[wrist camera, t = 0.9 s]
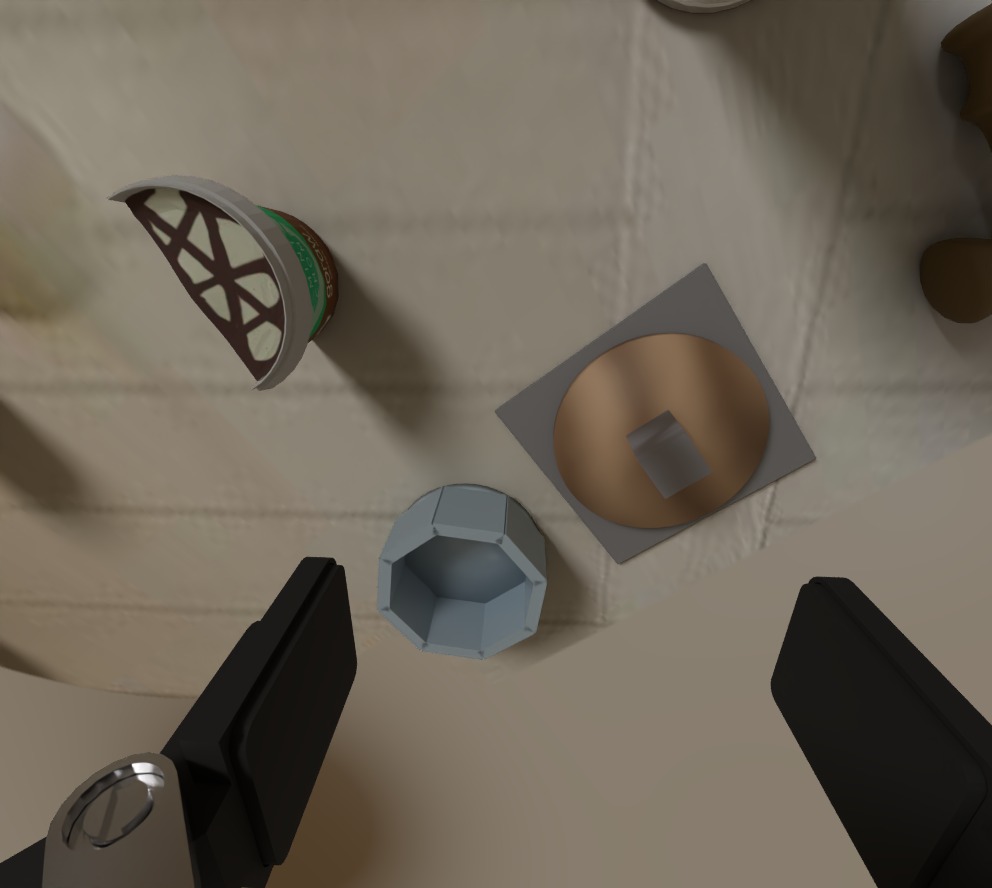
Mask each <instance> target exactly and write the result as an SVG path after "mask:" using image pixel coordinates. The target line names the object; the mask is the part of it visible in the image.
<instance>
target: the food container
mask: <svg viewBox="0 0 992 888" xmlns="http://www.w3.org/2000/svg"><path fill="white" fill-rule="evenodd" d="M107 199H108V200H114V201H119V202H125V203H126V204H127V205H128V207H129V208H130V209H131V211H132V213H133V214H134V216H135V217H136V218H137V219H138V220H139V221H140V222H141V224H142V225H143V226H144V227H145V229H146V230H147V231H148V233H149V234H150V235H151V237H152V238H153V240H154V241H155V242H156V244H157V245H158V247H159V248H160V249H161V251H162V252H163V254H164V255H165V257H166V258H167V260H168V261H169V263H170V265H171V266H172V268H173V270H174V271H175V273H176V275H177V276H178V278H179V280H180V281H181V283H182V284H183V286H184V287H185V289H186V290H187V292H188V294H189V295H190V297H191V298H192V299H193V301H194V302H195V303H196V304H197V305H198V307H199V308H200V309H201V310H202V311H203V313H204V314H205V315H206V316H207V317H208V318H209V319H210V321H211V322H212V323H213V324H214V325H215V326H216V327H217V329H218V330H219V331H220V332H221V333H222V335H223V336H224V337H225V338H226V339H227V341H228V342H229V343H230V345H231V346H232V347H233V349H234V350H235V352H236V353H237V354H238V356H239V357H240V358H241V360H242V361H243V362H244V364H245V365H246V366H247V368H248V369H249V371H250V372H251V373H252V375H253V376H254V378H255V379H256V380H257V381H258V382H257V383H256V384H255V385H254V386H253V387H252V388H251V389H250V391H251V390H253V389H255V388H257V389H258V390H259V391H261V390H265V389H270V388H273V387H275V386H276V385H278V384H279V383H281V382H282V381H283V380H284V379H285V378H286V377H287V376H288V375H289V374H290V373H291V372H292V371H293V370H294V369H295V367H296V366H297V364H298V363H299V361H300V360H301V358H302V356H303V354H304V351H305V349H306V347H307V344H308V343H309V342H310V341H311V340H312V339H313V338H314V337H315V336H317V335H318V334H319V333H320V332H321V331H322V330H323V329H324V327H325V326H326V324H327V323H328V322H329V320H330V319H331V317H332V316H333V314H334V310H335V307H336V303H337V300H338V296H339V293H338V274H337V271H336V268H335V264H334V261H333V258H332V256H331V254H330V252H329V250H328V248H327V247H326V245H325V244H324V243H323V241H322V240H321V238H320V237H319V236H318V235H317V234H316V233H315V232H314V231H313V230H312V229H311V228H310V227H309V226H307V225H306V224H305V223H304V222H302V221H300V220H299V219H297V218H295V217H293V216H291V215H289V214H286V213H284V212H280V211H276V210H273V209H269V208H265V207H261V206H257V205H255V204H253V203H252V202H251V201H250V200H248V199H247V198H245V197H244V196H242V195H240V194H239V193H237V192H235V191H234V190H232V189H230V188H228V187H226V186H223V185H221V184H219V183H216V182H214V181H211V180H207V179H203V178H199V177H195V176H183V175H171V176H163V177H156V178H151V179H147V180H142V181H139V182H136V183H133V184H130V185H127V186H125V187H123V188H121V189H120V190H118V191H116V192H114V193H113V194H112V195H111V196H109V197H107Z"/></svg>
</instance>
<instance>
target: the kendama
mask: <svg viewBox="0 0 992 888" xmlns="http://www.w3.org/2000/svg"><path fill="white" fill-rule="evenodd" d="M941 48H942V49H943V50H944V51H947V52H950V53H954V54H956V55H958V56H959V57H960V58H961V59H962V61H963V63H964V65H965V69H966V72H967V77H968V83H969V93H968V98H967V101H966V103H965V105H964V107H963V108H962V110H961V112H960V118H961V120H963V121H968V122H972V123H974V124H976V125H977V126H978V127H979V128H980V129H981V131H982V132H983V134H984V136H985V138H986V140H987V142H988V144H989V146H990V149H991V151H992V4H990V5H989V6H987V7H985V8H983V9H982V10H980V11H978V12H977V13H975V14H973V15H971V16H970V17H969V18H967V19H966V20H964V21H963V22H961V23H960V24H959V25H957V26H956V27H955V28H954V29H953V30H951V31H950V32H949V33H948V34H947V35H946V36H945V38H944V39H943V40H942V42H941ZM920 276H921V284H922V287H923V290H924V293H925V296H926V297H927V299H928V301H929V302H930V304H931V305H932V307H933V308H934V309H935V310H936V311H938V312H939V313H940V314H941V315H942V316H944V317H945V318H947V319H950V320H952V321H955V322H957V323H975V322H978V321H980V320H982V319H984V318H986V317H987V316H989V315H990V314H992V239H977V238H954V239H948V240H943V241H938V242H936V243H934V244H933V245H931V246H930V247H929V248H928V249H927V250H926V251H925V252H924V253H923V257H922V260H921V264H920Z"/></svg>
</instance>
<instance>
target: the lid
mask: <svg viewBox="0 0 992 888" xmlns="http://www.w3.org/2000/svg"><path fill="white" fill-rule="evenodd" d="M768 432H769V412H768V404H767V401H766V397H765V394H764V391H763V389H762V387H761V385H760V382H759V380H758V379H757V377H756V376H755V375H754V373H753V372H752V370H751V369H750V368H749V367H748V366H747V365H746V364H745V363H744V362H743V361H742V360H741V359H740V358H739V357H737V356H736V355H735V354H733V353H732V352H731V351H729V350H728V349H726V348H724V347H722V346H720V345H719V344H717V343H715V342H713V341H710V340H707V339H705V338H702V337H699V336H694V335H689V334H682V333H656V334H650V335H645V336H640V337H637V338H634V339H631V340H627V341H625V342H623V343H621V344H618V345H616V346H614V347H612V348H610V349H609V350H607V351H605V352H604V353H602V354H600V355H599V356H598V357H597V358H595V359H594V360H593V361H591V362H590V363H589V364H588V365H587V366H586V367H585V368H584V369H583V370H582V371H581V372H580V373H579V374H578V375H577V377H576V378H575V379H574V380H573V382H572V383H571V384H570V386H569V388H568V389H567V391H566V393H565V394H564V396H563V398H562V401H561V403H560V405H559V408H558V411H557V415H556V418H555V423H554V432H553V443H554V452H555V458H556V463H557V466H558V470H559V473H560V475H561V477H562V479H563V481H564V483H565V485H566V486H567V488H568V489H569V490H570V492H571V493H572V494H573V496H574V497H575V498H576V499H577V500H578V501H579V502H580V503H581V504H582V505H584V506H585V507H586V508H587V509H589V510H590V511H592V512H593V513H595V514H596V515H598V516H600V517H602V518H604V519H607V520H609V521H612V522H615V523H618V524H621V525H626V526H631V527H639V528H661V527H669V526H674V525H678V524H683V523H686V522H689V521H692V520H695V519H697V518H699V517H702V516H704V515H706V514H708V513H710V512H711V511H713V510H715V509H716V508H718V507H720V506H721V505H722V504H724V503H725V502H726V501H728V500H729V499H730V498H732V497H733V496H734V495H735V494H736V493H737V492H738V491H739V490H740V489H741V488H742V487H743V485H744V484H745V483H746V482H747V481H748V479H749V478H750V477H751V475H752V474H753V472H754V471H755V469H756V467H757V465H758V463H759V461H760V459H761V457H762V455H763V452H764V449H765V446H766V443H767V437H768Z"/></svg>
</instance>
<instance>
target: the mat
mask: <svg viewBox="0 0 992 888" xmlns="http://www.w3.org/2000/svg"><path fill="white" fill-rule="evenodd" d="M656 333H682V334H689V335H694V336H699V337H702V338H705V339H707V340H710V341H713V342H715V343H717V344H719V345H720V346H722V347H724V348H726V349H728V350H729V351H731V352H732V353H733V354H735V355H736V356H737V357H739V358H740V359H741V360H742V361H743V362H744V363H745V364H746V365H747V366H748V367H749V368H750V369H751V370H752V372H753V373H754V375H755V376H756V377H757V379H758V380H759V382H760V385H761V387H762V389H763V391H764V394H765V397H766V401H767V404H768V412H769V432H768V437H767V443H766V446H765V449H764V452H763V455H762V457H761V459H760V461H759V463H758V465H757V467H756V469H755V471H754V472H753V474H752V475H751V477H750V478H749V479H748V481H747V482H746V483H745V484H744V485H743V487H742V488H741V489H740V490H739V491H738V492H737V493H736V494H735V495H734V496H733V497H732V498H730V499H729V500H728V501H726V502H725V503H724V504H722V505H721V506H720V507H718V508H716V509H715V510H713V511H711V512H710V513H708V514H706V515H704V516H702V517H699V518H697V519H695V520H692V521H689V522H686V523H683V524H678V525H674V526H669V527H661V528H639V527H631V526H626V525H621V524H618V523H615V522H612V521H609V520H607V519H604V518H602V517H600V516H598V515H596V514H595V513H593V512H592V511H590V510H589V509H587V508H586V507H585V506H584V505H582V504H581V503H580V502H579V501H578V500H577V499H576V498H575V497H574V496H573V494H572V493H571V492H570V490H569V489H568V488H567V486H566V485H565V483H564V481H563V479H562V477H561V475H560V473H559V470H558V466H557V463H556V458H555V452H554V443H553V432H554V423H555V418H556V415H557V411H558V408H559V405H560V403H561V401H562V398H563V396H564V394H565V393H566V391H567V389H568V388H569V386H570V384H571V383H572V382H573V380H574V379H575V378H576V377H577V375H578V374H579V373H580V372H581V371H582V370H583V369H584V368H585V367H586V366H587V365H588V364H589V363H590V362H591V361H593V360H594V359H595V358H597V357H598V356H599V355H600V354H602V353H604V352H605V351H607V350H609V349H610V348H612V347H614V346H616V345H618V344H621V343H623V342H625V341H627V340H631V339H634V338H637V337H640V336H645V335H650V334H656ZM495 413H496V414H497V415H498V417H499V418H500V419H501V420H502V422H503V423H504V424H505V425H506V427H507V428H508V429H509V430H510V432H511V433H512V434H513V435H514V436H515V438H516V439H517V440H518V441H519V443H520V444H521V445H522V446H523V448H524V449H525V450H526V451H527V453H528V454H529V455H530V456H531V458H532V459H533V460H534V461H535V462H536V464H537V465H538V466H539V467H540V469H541V470H542V471H543V472H544V474H545V475H546V476H547V477H548V479H549V480H550V481H551V482H552V484H553V485H554V486H555V487H556V488H557V490H558V491H559V492H560V493H561V495H562V496H563V497H564V498H565V500H566V501H567V502H568V503H569V505H570V506H571V507H572V508H573V510H574V511H575V512H576V513H577V515H578V516H579V517H580V518H581V519H582V521H583V522H584V523H585V524H586V526H587V527H588V528H589V529H590V531H591V532H592V533H593V534H594V536H595V537H596V538H597V539H598V541H599V542H600V543H601V544H602V545H603V547H604V548H605V549H606V550H607V552H608V553H609V554H610V555H611V557H612V558H613V559H614V560H615V562H616V563H617V564H619V563H621V562H623V561H625V560H627V559H629V558H631V557H632V556H634V555H636V554H638V553H640V552H642V551H644V550H646V549H647V548H649V547H651V546H653V545H655V544H657V543H659V542H661V541H662V540H664V539H666V538H668V537H670V536H672V535H674V534H675V533H677V532H679V531H681V530H683V529H685V528H687V527H689V526H690V525H692V524H694V523H696V522H698V521H700V520H702V519H704V518H705V517H707V516H709V515H711V514H713V513H715V512H717V511H719V510H720V509H722V508H724V507H726V506H728V505H730V504H732V503H734V502H735V501H737V500H739V499H741V498H743V497H745V496H747V495H748V494H750V493H752V492H754V491H756V490H758V489H760V488H762V487H763V486H765V485H767V484H769V483H771V482H773V481H775V480H777V479H778V478H780V477H782V476H784V475H786V474H788V473H790V472H792V471H793V470H795V469H797V468H799V467H801V466H803V465H805V464H806V463H808V462H810V461H812V460H814V459H816V457H815V455H814V453H813V451H812V450H811V448H810V446H809V444H808V443H807V441H806V439H805V437H804V435H803V434H802V432H801V430H800V428H799V427H798V425H797V423H796V421H795V420H794V418H793V416H792V414H791V412H790V411H789V409H788V407H787V405H786V404H785V402H784V400H783V398H782V397H781V395H780V393H779V391H778V389H777V388H776V386H775V384H774V382H773V381H772V379H771V377H770V375H769V374H768V372H767V370H766V368H765V366H764V365H763V363H762V361H761V359H760V358H759V356H758V354H757V352H756V351H755V349H754V347H753V345H752V344H751V342H750V340H749V338H748V336H747V335H746V333H745V331H744V329H743V328H742V326H741V324H740V322H739V321H738V319H737V317H736V315H735V313H734V312H733V310H732V308H731V306H730V305H729V303H728V301H727V299H726V298H725V296H724V294H723V292H722V290H721V289H720V287H719V285H718V283H717V282H716V280H715V278H714V276H713V275H712V273H711V271H710V269H709V268H708V266H707V264H705V263H704V264H702V265H701V266H699V267H698V268H697V269H695V270H694V271H692V272H691V273H690V274H688V275H687V276H685V277H684V278H682V279H681V280H680V281H678V282H677V283H675V284H674V285H673V286H671V287H670V288H668V289H667V290H665V291H664V292H663V293H661V294H660V295H658V296H657V297H655V298H654V299H653V300H651V301H650V302H648V303H647V304H646V305H644V306H643V307H641V308H640V309H638V310H637V311H636V312H634V313H633V314H631V315H630V316H628V317H627V318H626V319H624V320H623V321H621V322H620V323H619V324H617V325H616V326H614V327H613V328H611V329H610V330H609V331H607V332H606V333H604V334H603V335H602V336H600V337H599V338H597V339H596V340H594V341H593V342H592V343H590V344H589V345H587V346H586V347H584V348H583V349H582V350H580V351H579V352H577V353H576V354H575V355H573V356H572V357H570V358H569V359H567V360H566V361H565V362H563V363H562V364H560V365H559V366H557V367H556V368H555V369H553V370H552V371H550V372H549V373H548V374H546V375H545V376H543V377H542V378H540V379H539V380H538V381H536V382H535V383H533V384H532V385H530V386H529V387H528V388H526V389H525V390H523V391H522V392H521V393H519V394H518V395H516V396H515V397H513V398H512V399H511V400H509V401H508V402H506V403H505V404H504V405H502V406H501V407H499V408H498V409H496V410H495Z"/></svg>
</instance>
